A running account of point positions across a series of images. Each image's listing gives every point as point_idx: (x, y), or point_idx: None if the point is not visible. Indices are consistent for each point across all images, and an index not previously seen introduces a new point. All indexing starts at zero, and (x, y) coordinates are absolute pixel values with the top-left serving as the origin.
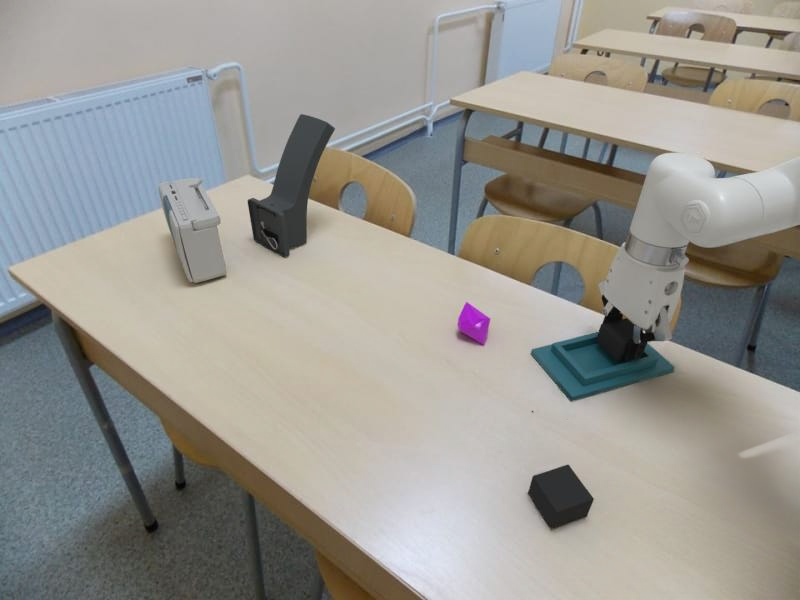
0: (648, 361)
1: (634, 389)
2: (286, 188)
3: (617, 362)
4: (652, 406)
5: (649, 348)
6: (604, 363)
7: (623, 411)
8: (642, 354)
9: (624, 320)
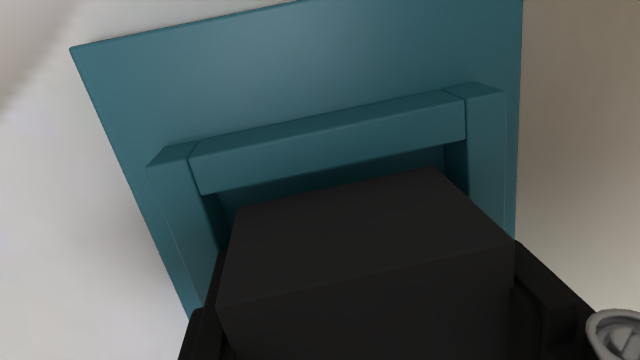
0: (503, 165)
1: (526, 222)
2: None
3: None
4: (625, 198)
5: (329, 27)
6: None
7: (593, 301)
8: (519, 243)
9: (250, 337)
